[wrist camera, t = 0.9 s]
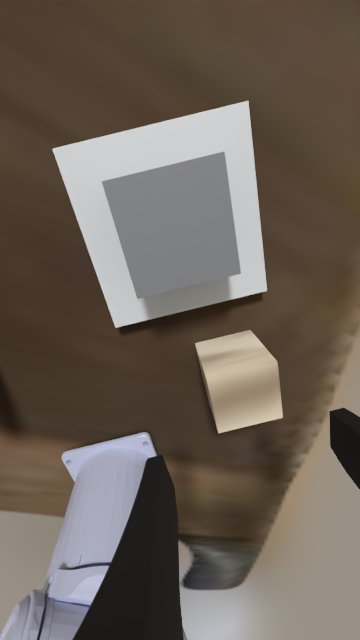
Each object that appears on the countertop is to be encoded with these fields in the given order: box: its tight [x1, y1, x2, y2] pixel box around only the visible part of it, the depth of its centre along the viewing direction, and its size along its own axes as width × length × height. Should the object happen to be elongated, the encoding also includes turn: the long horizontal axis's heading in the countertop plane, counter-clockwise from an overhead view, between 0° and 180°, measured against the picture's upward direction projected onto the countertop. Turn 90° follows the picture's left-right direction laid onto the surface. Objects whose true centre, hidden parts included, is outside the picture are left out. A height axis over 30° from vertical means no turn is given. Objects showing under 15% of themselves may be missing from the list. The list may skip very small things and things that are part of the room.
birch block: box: [195, 330, 283, 433], centre depth 19 cm, size 4×4×5 cm
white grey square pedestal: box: [53, 101, 267, 328], centre depth 15 cm, size 11×11×4 cm
